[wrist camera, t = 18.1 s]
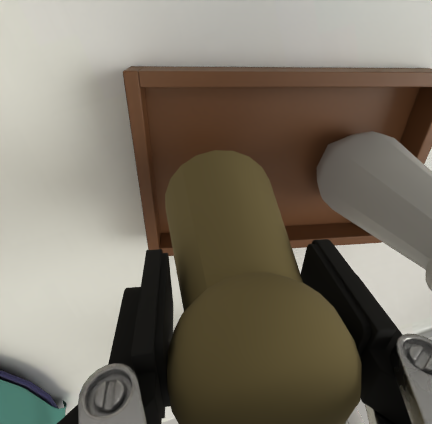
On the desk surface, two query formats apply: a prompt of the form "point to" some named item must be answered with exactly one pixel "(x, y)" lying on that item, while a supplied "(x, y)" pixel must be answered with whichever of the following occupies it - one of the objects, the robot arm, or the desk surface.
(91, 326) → the desk surface
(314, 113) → the tray
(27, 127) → the desk surface
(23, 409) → the cutlery set
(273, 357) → the pepper shaker
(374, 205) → the salt shaker
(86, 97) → the desk surface
